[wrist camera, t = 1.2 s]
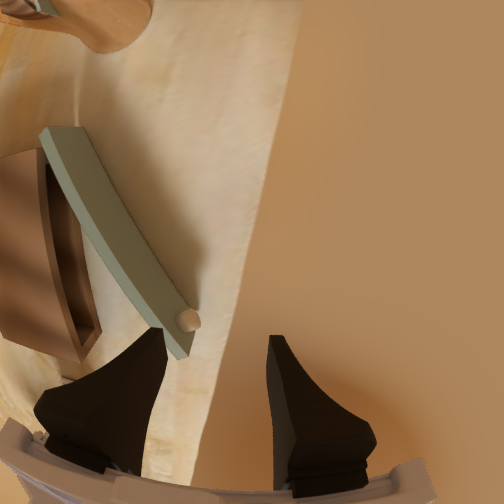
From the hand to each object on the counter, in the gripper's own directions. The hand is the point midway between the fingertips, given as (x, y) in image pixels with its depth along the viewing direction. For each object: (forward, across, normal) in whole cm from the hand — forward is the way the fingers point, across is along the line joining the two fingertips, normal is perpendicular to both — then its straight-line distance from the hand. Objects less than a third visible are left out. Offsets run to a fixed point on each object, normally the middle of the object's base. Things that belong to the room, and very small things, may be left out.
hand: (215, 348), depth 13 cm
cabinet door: (+9, +7, -3) cm, 12 cm away
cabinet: (+9, +19, -1) cm, 21 cm away
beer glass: (+10, +10, -20) cm, 25 cm away
